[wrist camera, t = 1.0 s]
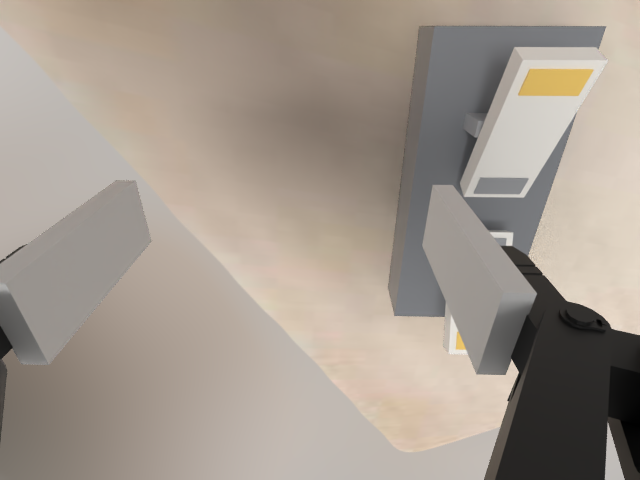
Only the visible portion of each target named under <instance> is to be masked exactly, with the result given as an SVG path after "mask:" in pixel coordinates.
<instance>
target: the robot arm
mask: <svg viewBox="0 0 640 480" xmlns="http://www.w3.org/2000/svg"><path fill="white" fill-rule="evenodd" d="M150 243H151V237H150V234H149V230H148V226H147V222H146V219H145V215H144V211H143V207H142V203H141V200H140V196H139V192H138V188H137V184H136V181H124V180H123V181H122V180H116V181H115V182H113V183H112V184H110V185H109V186H108V187H106V188H105V189H104V190H102V191H101V192H99V193H98V194H97V195H95V196H94V197H92V198H91V199H90V200H88V201H87V202H86V203H84V204H83V205H81V206H80V207H78V208H77V209H76V210H75V211H73V212H71V213H70V214H69V215H67V216H66V217H65V218H63V219H62V220H60V221H59V222H58V223H56V224H55V225H53V226H52V227H51V228H49V229H48V230H47V231H45V232H44V233H42V234H41V235H40V236H38V237H37V238H35V239H34V240H33V241H31V242H30V243H28V244H26V245H24V246H22V247H19V248H18V249H17V250H15V251H14V252H12V253H11V254H10V255H8V256H7V257H6V259H3V260H1V261H0V440H1V429H2V418H3V409H4V398H5V387H6V377H7V369H6V365H5V364H4V362H3V360H2V358H3V357H4V356H5V355H6V354H7V353H8V352H9V351H10V349H13V350H14V353H15V354H16V356H17V358H18V359H19V361H20V363H21V364H42V365H49V364H50V363H51V362H52V360H53V359H54V358H55V357H56V356H57V354H58V353H59V352H60V351H61V350H62V348H63V347H64V346H65V345H66V343H67V342H68V341H69V340H70V339H71V337H72V336H73V335H74V334H75V333H76V331H77V330H78V329H79V328H80V326H82V324H83V323H84V322H85V320H86V319H87V318H88V317H89V316H90V315H91V313H92V312H93V311H94V310H95V309H96V307H97V306H98V305H99V304H100V303H101V301H102V300H103V299H104V298H105V296H106V295H107V294H108V293H109V292H110V291H111V289H112V288H113V287H114V286H115V285H116V283H117V282H118V281H119V280H120V279H121V277H122V276H123V275H124V274H125V273H126V271H127V270H128V269H129V268H130V267H131V265H132V264H133V263H134V262H135V260H136V259H137V258H138V257H139V256H140V255H141V253H142V252H143V251H144V250H145V248H146V247H147V246H148V245H149V244H150ZM422 246H423V249H424V251H425V253H426V256H427V258H428V261H429V263H430V265H431V268H432V270H433V272H434V275H435V277H436V279H437V282H438V284H439V287H440V289H441V291H442V294H443V296H444V298H445V301H446V303H447V305H448V308H449V310H450V313H451V315H452V317H453V320H454V322H455V324H456V327H457V329H458V331H459V334H460V336H461V339H462V341H463V343H464V346H465V348H466V350H467V353H468V355H469V357H470V360H471V362H472V365H473V367H474V369H475V372H476V374H488V375H506V372H507V370H508V367H509V365H510V362H511V359H512V360H513V362H514V364H515V366H516V367H517V369H518V371H519V374H518V376H517V378H516V381H515V383H514V386H513V388H512V391H511V393H510V395H509V398H508V400H507V401H509V403H508V406H507V409H506V412H505V415H504V418H503V421H502V425H501V428H500V431H499V434H498V437H497V440H496V443H495V446H494V450H493V453H492V456H491V459H490V462H489V465H488V468H487V472H486V475H485V478H484V480H605V461H606V443H607V423H609V427H610V430H611V434H612V437H613V440H614V444H615V447H616V451H617V454H618V457H619V461H620V464H621V468H622V471H623V475H624V478H625V480H640V335H635V334H631V333H626V332H622V331H617V330H613V329H611V327H610V324H609V323H608V322H607V321H606V320H605V319H604V318H603V317H602V316H601V315H599V314H598V313H596V312H595V311H593V310H592V309H589V308H587V307H585V306H582V305H580V304H576V303H572V302H567V301H566V300H565V299H564V298H563V297H562V295H561V294H560V293H559V292H558V291H557V290H556V288H555V287H554V286H553V285H552V284H551V283H550V282H549V280H548V279H547V278H546V277H545V276H543V275H542V272H541V271H540V270H539V269H538V268H537V267H535V264H534V263H533V262H532V261H531V260H530V258H529V257H528V256H527V255H526V254H524V253H523V252H521V251H520V250H518V249H516V248H515V247H513V246H500V245H499V244H498V243H497V241H496V240H495V239H494V237H493V236H492V235H491V234H490V232H489V231H488V230H487V228H486V227H485V226H484V225H483V223H482V222H481V221H480V219H479V218H478V217H477V216H476V214H475V213H474V212H473V210H472V209H471V208H470V207H469V205H468V204H467V203H466V201H465V200H464V199H463V198H462V196H461V195H460V194H459V192H458V191H457V190H456V189H455V187H454V186H453V185H433V186H432V192H431V198H430V203H429V209H428V215H427V221H426V227H425V233H424V238H423V244H422Z"/></svg>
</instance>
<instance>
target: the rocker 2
mask: <svg viewBox="0 0 640 480" xmlns="http://www.w3.org/2000/svg"><path fill="white" fill-rule="evenodd" d="M607 62H608V59H607V58H606V57H605V56H604V55H603V54H602V53H601V52H600V51H599V50H598V49H597V48H596V47H514V49H513V52H512V54H511V57H510V59H509V62H508V64H507V67H506V69H505V72H504V74H503V77H502V79H501V81H500V84H499V86H498V89H497V91H496V94H495V96H494V99H493V101H492V104H491V106H490V109H489V111H488V114H487V116H486V119H485V121H484V124H483V126H482V129H481V131H480V134H479V136H478V139H477V141H476V144H475V146H474V149H473V151H472V154H471V156H470V159H469V161H468V164H467V166H466V169H465V171H464V174H463V176H462V179H461V181H460V186H461V189H462V192H463V195H464V197H516V198H524V197H525V195H526V194H527V192H528V190H529V189H530V187H531V186H532V184H533V182H534V181H535V179H536V177H537V176H538V174H539V173H540V171H541V169H542V168H543V166H544V164H545V163H546V161H547V160H548V158H549V156H550V155H551V153H552V151H553V150H554V148H555V147H556V145H557V143H558V142H559V140H560V138H561V137H562V135H563V134H564V132H565V130H566V129H567V127H568V125H569V124H570V122H571V121H572V119H573V117H574V116H575V114H576V112H577V111H578V109H579V108H580V106H581V104H582V103H583V101H584V99H585V98H586V96H587V95H588V93H589V91H590V90H591V88H592V86H593V85H594V83H595V82H596V80H597V78H598V77H599V75H600V73H601V72H602V70H603V69H604V67H605V65H606V64H607Z"/></svg>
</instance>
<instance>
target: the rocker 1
mask: <svg viewBox="0 0 640 480" xmlns="http://www.w3.org/2000/svg"><path fill="white" fill-rule="evenodd" d="M488 231H489V232H490V234H491V235H492V236H493V237H494V239H495V240H496V241H497V243H498V244H499V245H500V246H512V243H513V232H509V231H505V230H488ZM443 347H444V348H445V350H446V351H447V352H448V354H468V353H467V350H466V348H465V346H464V343H463V341H462V339H461V336H460V334H459V331H458V329H457V327H456V324H455V322H454V320H453V317H452V315H451V313H450V310H449V308H448V305H447V303H446V306H445V323H444V339H443Z"/></svg>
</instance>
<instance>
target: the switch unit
mask: <svg viewBox="0 0 640 480" xmlns="http://www.w3.org/2000/svg"><path fill="white" fill-rule="evenodd" d="M605 28H606V26H419V34H418V42H417V51H416V59H415V67H414V76H413V84H412V92H411V101H410V109H409V117H408V126H407V134H406V142H405V151H404V159H403V167H402V176H401V184H400V193H399V201H398V209H397V218H396V226H395V234H394V243H393V251H392V259H391V268H390V276H389V284H388V289H389V294H390V298H391V302H392V307H393V311H394V316H427V317H445V306H446V301H445V298H444V296H443V294H442V291H441V289H440V287H439V284H438V282H437V279H436V277H435V275H434V272H433V270H432V268H431V265H430V263H429V261H428V258H427V256H426V253H425V251H424V249H423V246H422V244H423V238H424V233H425V227H426V221H427V215H428V209H429V203H430V198H431V192H432V186H433V185H453V186H454V187H455V189H456V190H457V191H458V192H459V194H460V195H461V196H462V198H463V199H464V200H465V201H466V203H467V204H468V205H469V207H470V208H471V209H472V210H473V212H474V213H475V214H476V216H477V217H478V218H479V219H480V221H481V222H482V223H483V225H484V226H485V227H486V228H487V230H505V231H509V232H513V243H512V246H513V247H515V248H516V249H518V250H520V251H521V252H523V253H524V254H526V255H527V256H528V254H529V251H530V248H531V245H532V242H533V239H534V236H535V234H536V231H537V228H538V225H539V222H540V219H541V216H542V213H543V210H544V207H545V204H546V201H547V198H548V195H549V193H550V190H551V187H552V184H553V181H554V178H555V175H556V172H557V169H558V166H559V163H560V160H561V157H562V154H563V152H564V149H565V146H566V143H567V140H568V137H569V134H570V131H571V128H572V125H573V122H574V119H575V116H576V114H575V116H574V117H573V119H572V121H571V122H570V124H569V125H568V127H567V129H566V130H565V132H564V134H563V135H562V137H561V138H560V140H559V142H558V143H557V145H556V147H555V148H554V150H553V151H552V153H551V155H550V156H549V158H548V160H547V161H546V163H545V164H544V166H543V168H542V169H541V171H540V173H539V174H538V176H537V177H536V179H535V181H534V182H533V184H532V186H531V187H530V189H529V190H528V192H527V194H526V195H525V197H524V198H516V197H464V195H463V192H462V189H461V186H460V181H461V179H462V176H463V174H464V171H465V169H466V166H467V164H468V161H469V159H470V156H471V154H472V151H473V149H474V146H475V144H476V141H477V139H478V136H479V134H480V131H481V129H482V126H483V124H484V121H485V119H486V116H487V114H488V111H489V109H490V106H491V104H492V101H493V99H494V96H495V94H496V91H497V89H498V86H499V84H500V81H501V79H502V77H503V74H504V72H505V69H506V67H507V64H508V62H509V59H510V57H511V54H512V52H513V49H514V47H596V48H597V49H599V46H600V43H601V40H602V37H603V34H604V31H605ZM576 113H577V112H576Z"/></svg>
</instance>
